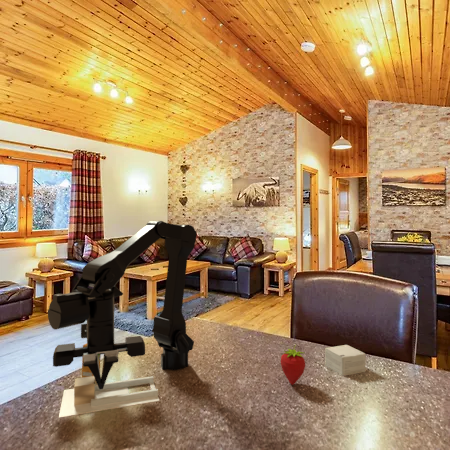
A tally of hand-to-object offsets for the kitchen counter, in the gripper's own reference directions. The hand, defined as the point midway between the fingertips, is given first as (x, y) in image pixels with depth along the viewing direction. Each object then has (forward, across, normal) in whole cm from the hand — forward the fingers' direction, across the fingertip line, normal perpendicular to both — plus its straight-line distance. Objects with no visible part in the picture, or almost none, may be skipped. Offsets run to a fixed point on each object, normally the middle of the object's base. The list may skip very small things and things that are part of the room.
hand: (101, 388), depth 79 cm
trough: (+3, -2, 0) cm, 4 cm away
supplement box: (+4, +2, -11) cm, 12 cm away
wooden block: (+2, +3, 0) cm, 4 cm away
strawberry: (+4, -45, +6) cm, 45 cm away
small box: (+4, -63, +3) cm, 64 cm away
